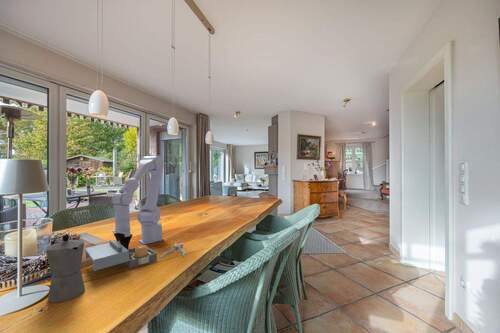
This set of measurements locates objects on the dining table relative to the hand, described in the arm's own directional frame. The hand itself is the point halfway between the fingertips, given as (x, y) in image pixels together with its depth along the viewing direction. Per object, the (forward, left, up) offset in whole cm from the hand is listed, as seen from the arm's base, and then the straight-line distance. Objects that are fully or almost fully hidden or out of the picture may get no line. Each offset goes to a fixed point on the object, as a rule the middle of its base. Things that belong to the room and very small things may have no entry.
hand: (123, 249), depth 100 cm
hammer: (-17, +16, -2) cm, 23 cm away
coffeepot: (+22, +23, -2) cm, 32 cm away
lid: (+9, +13, +2) cm, 16 cm away
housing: (-2, +13, -1) cm, 13 cm away
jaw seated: (-2, +17, -1) cm, 17 cm away
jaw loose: (0, 0, -1) cm, 1 cm away
